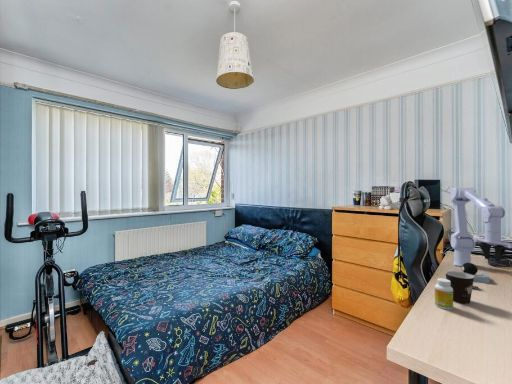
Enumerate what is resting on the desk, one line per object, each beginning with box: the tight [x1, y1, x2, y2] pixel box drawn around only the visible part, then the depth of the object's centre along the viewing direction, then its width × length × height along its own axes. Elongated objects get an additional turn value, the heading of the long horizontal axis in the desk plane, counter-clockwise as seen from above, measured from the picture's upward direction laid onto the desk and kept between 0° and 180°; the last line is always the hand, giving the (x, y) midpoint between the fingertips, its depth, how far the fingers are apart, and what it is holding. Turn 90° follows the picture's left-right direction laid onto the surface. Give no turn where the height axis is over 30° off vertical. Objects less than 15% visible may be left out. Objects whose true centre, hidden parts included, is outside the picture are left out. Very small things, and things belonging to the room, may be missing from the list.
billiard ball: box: [461, 262, 479, 275], centre depth 127 cm, size 6×6×6 cm
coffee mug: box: [445, 270, 475, 305], centre depth 98 cm, size 12×9×10 cm
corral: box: [455, 268, 490, 284], centre depth 122 cm, size 8×11×2 cm
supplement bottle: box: [434, 277, 454, 310], centre depth 92 cm, size 5×5×10 cm
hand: (492, 260), depth 120 cm, fingers open, 4 cm apart
